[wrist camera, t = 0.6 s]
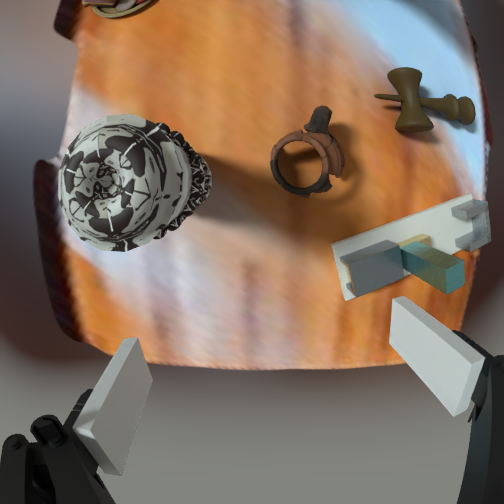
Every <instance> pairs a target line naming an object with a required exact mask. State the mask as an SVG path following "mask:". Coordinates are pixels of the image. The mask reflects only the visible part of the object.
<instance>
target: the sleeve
mask: <svg viewBox="0 0 504 504" xmlns="http://www.w3.org/2000/svg"><path fill="white" fill-rule="evenodd" d="M339 258H340V262H342V263H343V264H344V265H345V266H347V267H348V270H349V274H350V279H351V282H349V283H347V284H346V287H347V289H348V290H349V291H350V292H351V293H352V294H353V295H354V296H355V297H356V298H357V297H359V296H362V295H364V294H366V293H369V292H371V291H374V290H376V289H379V288H381V287H383V286H386V285H388V284H390V283H393V282H395V281H397V280H400V279H402V278H404V271H403V264H402V258H401V252H400V246H399V245H398V244H396V243H394V242H391V241H389V240H384V241H381V242H379V243H376V244H373V245H371V246H368V247H365V248H363V249H360V250H357V251H355V252H352V253H349V254H347V255H344V256H341V257H339Z"/></svg>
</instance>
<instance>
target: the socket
mask: <svg viewBox="0 0 504 504" xmlns="http://www.w3.org/2000/svg"><path fill="white" fill-rule="evenodd" d="M451 211H452V216H455V217H459V218H463V219H469V218H471V219H472V228H473V231H471V232H469V233H467V234H465V235H463V236H461V237H459V238H457V239H455V244H456V247H457V248H460V249H463V250H465V251H468V252H472V251H474V250H476V249H478V248H479V247H481V246H483V245H485V244H487V243H488V242H490V241H491V233H490V220H489V211H488V202H486V201H481V200H474V199H472V200H469V201H467V202H464V203H462V204H459V205H457V206H454V207H452V208H451Z"/></svg>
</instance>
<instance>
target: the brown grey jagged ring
mask: <svg viewBox="0 0 504 504" xmlns="http://www.w3.org/2000/svg"><path fill="white" fill-rule="evenodd" d="M331 114H332V111H331V110H330V109H329V108H328V107H327V106H320V107H317V108H316V109H315V110H314V112H313V114H312V116H311V120H310V122H309V123H308V124H306V125H304V128H305V130H306V131H307V133H303V131H302V130H298V131H295V132H292V133H290V134H288V135H286V136H285V137H283V138H282V139H280V140H279V141H278V143H277V144H276V145H274V146H273V148H272V152H271V161H270V166H271V170H272V173H273V176H274V178H275V180H276V181H277V182H278V183H279V184H280V185H281V186H282V187H283V188H284V189H285V190H287V191H289V192H291V193H293V194H296V195H299V196H302V197H306V198H309V195H310V193H312V192H314V193H321V192H327V191H328V190H329V189H331V187H332V185H331V184H330V180H329V174H332V175H336V178H339V176H340V175H341V173H342V170H343V167H344V156H343V153H342V150H341V148H340V146H339V144H338V142H337V141H336V139H335V138H334V137H333V135H331V134H330V133H329V131H328V124H329V121H330V118H331ZM293 141H304V142H307V143H309V144H311V145H312V146H313V147H314V148H315V149H316V150H317V151H318V153H319V154H320V157H321V160H322V174H321V176H320V178H319V180H318V181H317V182H316V183H315V184H313V185H312V186H309V187H307V188H299V187H295V186H293V185H291V184H289V183H288V182H287V181H286V180H285V179H284V178H283V176H282V175H281V173H280V170H279V166H278V159H277V157H278V153H279V151H280V150H282V148H283V147H284V146H285V145H286V144H288V143H290V142H293Z"/></svg>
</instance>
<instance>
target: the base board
mask: <svg viewBox="0 0 504 504" xmlns="http://www.w3.org/2000/svg"><path fill="white" fill-rule="evenodd" d="M469 200H472V194H470V193H467V194H465V195H462V196H459V197H457V198H454V199H452V200H449V201H446V202H444V203H441V204H438V205H436V206H433V207H430V208H428V209H425V210H422V211H420V212H417V213H414V214H412V215H409V216H406V217H403V218H401V219H398V220H395V221H393V222H390V223H387V224H384V225H382V226H379V227H376V228H373V229H371V230H368V231H365V232H362V233H359V234H357V235H354V236H351V237H348V238H345V239H343V240H340V241H337V242H334V243H331V247H332V251H333V255H334V259H335V263H336V267H337V271H338V275H339V279H340V283H341V287H342V292H343V296H344V299H345V300H346V301H347V300H350V299H352V298H355V296H354V295H353V294H352V293H351V292H350V291H349V290H348V289H347V287H346V284H347V283H349V279H348V275H347V270H346V266H345V265H344V264H343V263H342V262H340V258H339V257H341V256H344V255H347V254H349V253H352V252H355V251H357V250H360V249H363V248H365V247H368V246H371V245H373V244H376V243H379V242H381V241H384V240H389V241H391V242H394V243H396V244H397V243H400V242H402V241H405V240H407V239H410V238H412V237H415V236H417V235H419V234H425V235H428V236H430V239H431V247H433V248H435V249H438V250H440V251H443V252H445V253H448V254H450V255H452V254H454V253H456V252H458V251H460V250H462V249H460V248H457V247H456V244H455V239H457V238H459V237H461V236H463V235H465V234H467V233H469V232H471V231H473V228H472V219H471V218H469V219H463V218H459V217H455V216H452V211H451V208H452V207H454V206H457V205H459V204H462V203H464V202H467V201H469ZM403 271H404V277H405V276H407V275H409V274H411V273H410V272H408V271H406V270H405V269H403Z"/></svg>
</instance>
